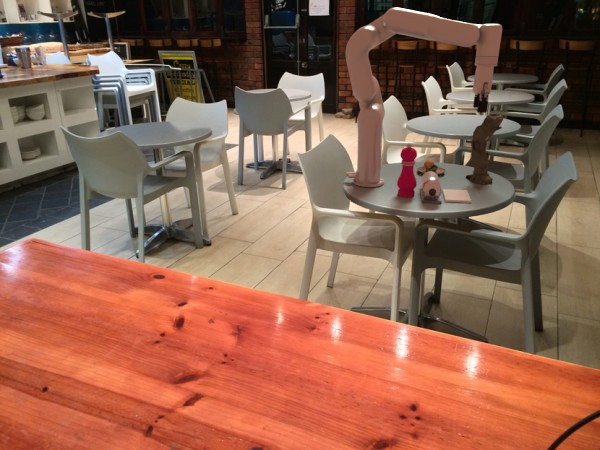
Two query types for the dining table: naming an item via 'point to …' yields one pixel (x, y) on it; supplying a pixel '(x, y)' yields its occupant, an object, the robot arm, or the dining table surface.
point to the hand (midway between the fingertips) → (479, 109)
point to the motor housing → (430, 188)
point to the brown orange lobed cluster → (430, 168)
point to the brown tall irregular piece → (483, 148)
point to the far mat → (456, 196)
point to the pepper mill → (407, 172)
